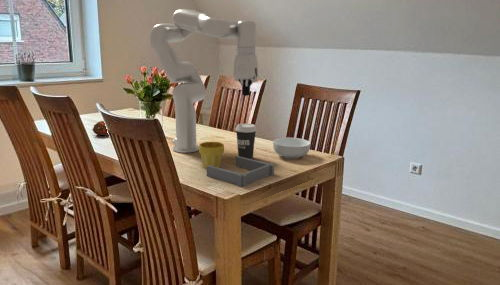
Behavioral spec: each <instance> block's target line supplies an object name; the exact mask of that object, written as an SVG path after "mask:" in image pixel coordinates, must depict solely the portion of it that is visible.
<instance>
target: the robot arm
mask: <svg viewBox="0 0 500 285" xmlns="http://www.w3.org/2000/svg"><path fill="white" fill-rule="evenodd" d="M172 22H173V23H159V24H156V25H154V26H153V27H152V28H151V30H150V33H149V43H150V46H151V49H152V50H153V52H154V53H155V55H156V57H157V58H158V60H159V63H160V65H161V67H162V69H163V71H164V74H165V75H166V77H167V79H168V81H169V82H171V83H174V84H178V83H180V84H178V85H176V86H175V87H174V88H173V91H172V98H173V103H174V109H175V110H174V112H175V113H174V114H175V138H174V139H173V140H172V141H171V142H172V143H173V144H174V146H173V148H172V150H173V151H174V152H175V153H183V154H186V153H188V154H189V153H195V152H199V145H197V112H196V108H195V105H194V103H198V102H201V101H202V100H204V99H205V97H206V95H207V90H206V86H205V84H204V81H203V80H202V77H201V75H200V73H199V71H198V69H197V68H196V66H195V65H194V64H193V63H192V62H190V61H185V60H184V61H181V60H180V58H179V57H178V54H177V52H176V51H175V50H174V48H173V47H172V46H171V45H170V44H169V43H180V42H183V41H185V40H186V39H187V38H188V37H189V36H190V35H192V34H193V33H194V32H195V33H199V34H202V35H205V36H207V37H212V38H216V39H221V40H222V39H223V40H226V39H227V40H228V39H231V40H235V39H237V40H236V43H237V45H236V46H237V47H236V48H235V52H236V54H235V56H234V62H233V77H234V79H235V81H236V82H238V83H240V86H241V94H242V96H243V97H244V96H245V97H247V96H251V95H250V94H251V86H252V85H253V83H257V82H258V77H259V65H258V63H259V62H258V57H257V55H256V35H257V34H256V32H257V31H256V29H257V28H256V25H257V24H256V22H255V21H253V20H233V19H222V18H221V19H219V18H214V17H211V16H209V14H207V13H204V12H199V11H197V10H195V9H188V8H180V9H177V10H175V12H174V13H173V14H172Z"/></svg>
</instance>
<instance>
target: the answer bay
mask: <svg viewBox="0 0 500 285" xmlns="http://www.w3.org/2000/svg"><path fill="white" fill-rule="evenodd" d="M235 167H240V168H242V169H243V168H244V169H247V170H249V171H247V172H243V173H240V172H236V171H233V170H228V169H224V168H221V167H219V168H218V167H214V166H211V165H208V166H207V169H206V176H207V177H210V178H213V179H217V180H219V181H220V180H221V181H223V182H227V183H230V184H233V185H237V187H246V186H247V185H248V184H252V183H254V182H257V181H258V180H261V179H263V178H266V177H269V176H273V175H275V164H274V163H268V162H265V161H260V160H256V159H248V158H244V157H240V156H238V155H236V156H235Z"/></svg>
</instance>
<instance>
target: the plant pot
mask: <svg viewBox="0 0 500 285" xmlns="http://www.w3.org/2000/svg"><path fill="white" fill-rule="evenodd" d="M198 146H199V150H198V152H199V154H200V156H201V160H202V166H203V168H204V169H206V170H207V166H208V165H211V166H214V167H218V168H220V166H221V161H222V157H223V154H224V153H225V144H224V143H222V142H220V141H204V142H201V143H200V144H199V145H198Z"/></svg>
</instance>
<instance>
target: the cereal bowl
mask: <svg viewBox="0 0 500 285" xmlns="http://www.w3.org/2000/svg"><path fill="white" fill-rule="evenodd" d="M272 145H273V146H272V147H273V150H274V151H275V153H276V154H277V155H279V156H282V157H283V158H284V159H289V160H290V159H291V160H295V159H299V158H301V157H304V156H306V155H307V154H308V153H309V152H310V149H311V142H310V141H309V140H307V139H303V138H298V137H289V136H287V137H278V138H276V139H274V140H273V142H272Z"/></svg>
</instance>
